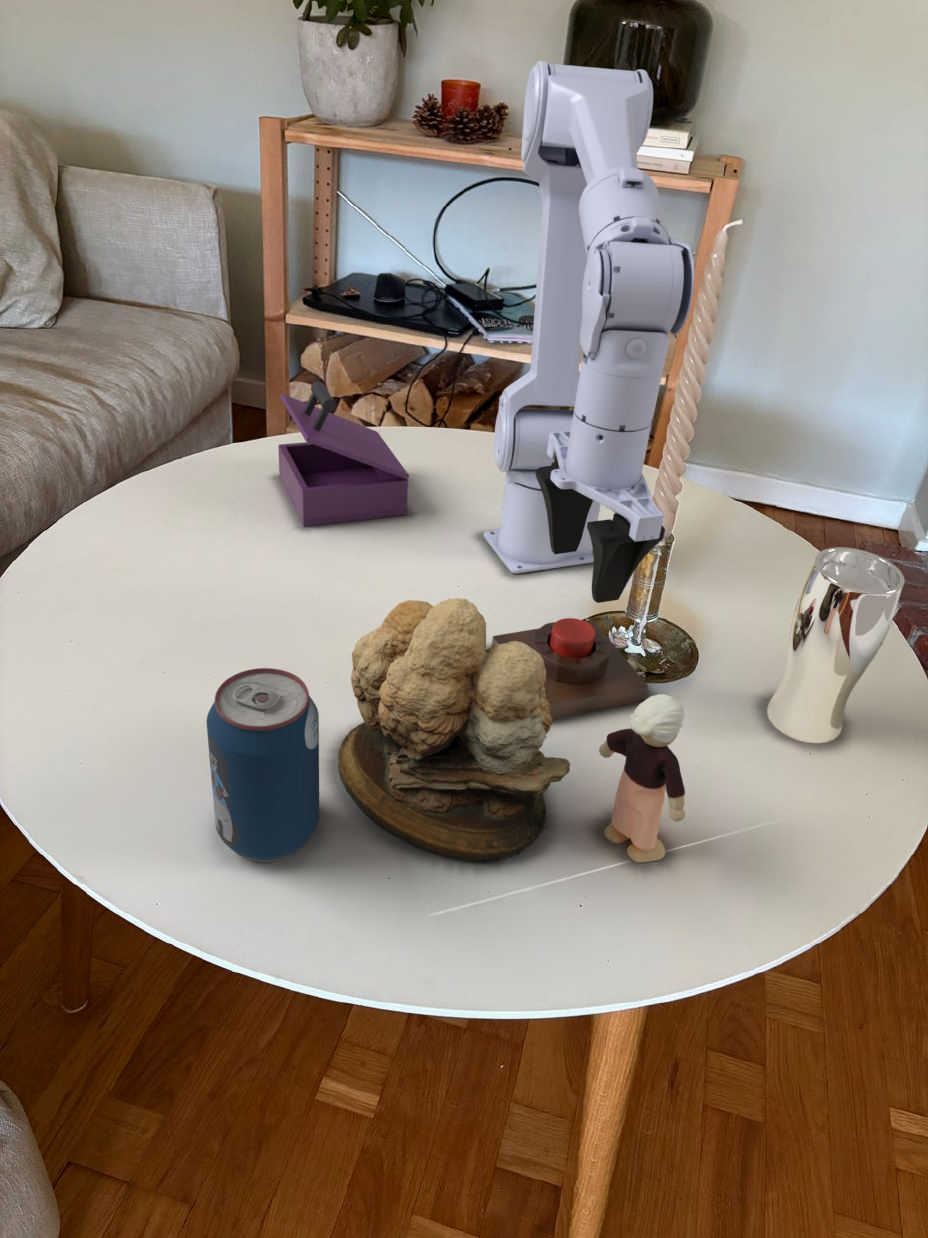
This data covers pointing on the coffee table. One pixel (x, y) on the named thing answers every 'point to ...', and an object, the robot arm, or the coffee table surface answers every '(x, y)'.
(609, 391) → the robot arm
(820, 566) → the beer glass
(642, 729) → the grandmother figurine
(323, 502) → the box
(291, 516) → the coffee table surface
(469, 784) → the tan rock sculpture
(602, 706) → the button block
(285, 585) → the coffee table surface
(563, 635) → the button
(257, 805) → the soda can
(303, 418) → the purple flat piece
